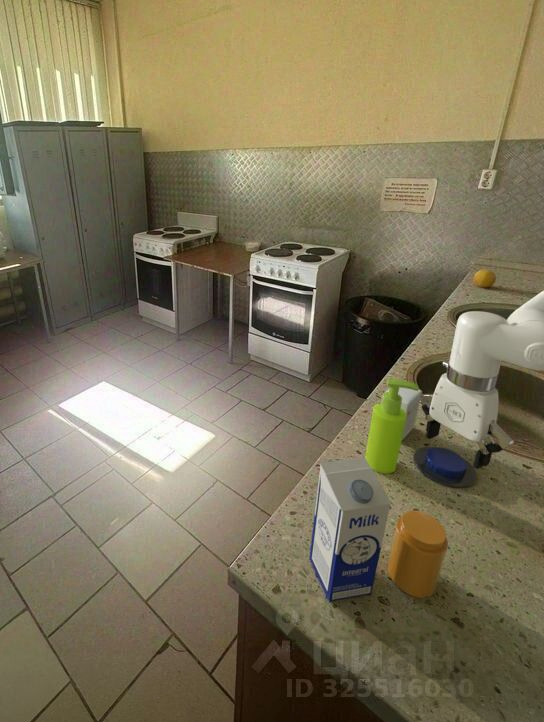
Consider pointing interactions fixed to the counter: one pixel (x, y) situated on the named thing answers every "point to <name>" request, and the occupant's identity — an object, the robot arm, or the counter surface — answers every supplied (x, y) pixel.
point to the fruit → (484, 278)
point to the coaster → (459, 482)
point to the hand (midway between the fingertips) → (454, 450)
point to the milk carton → (348, 527)
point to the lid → (446, 462)
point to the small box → (409, 407)
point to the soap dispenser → (387, 428)
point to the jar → (417, 553)
